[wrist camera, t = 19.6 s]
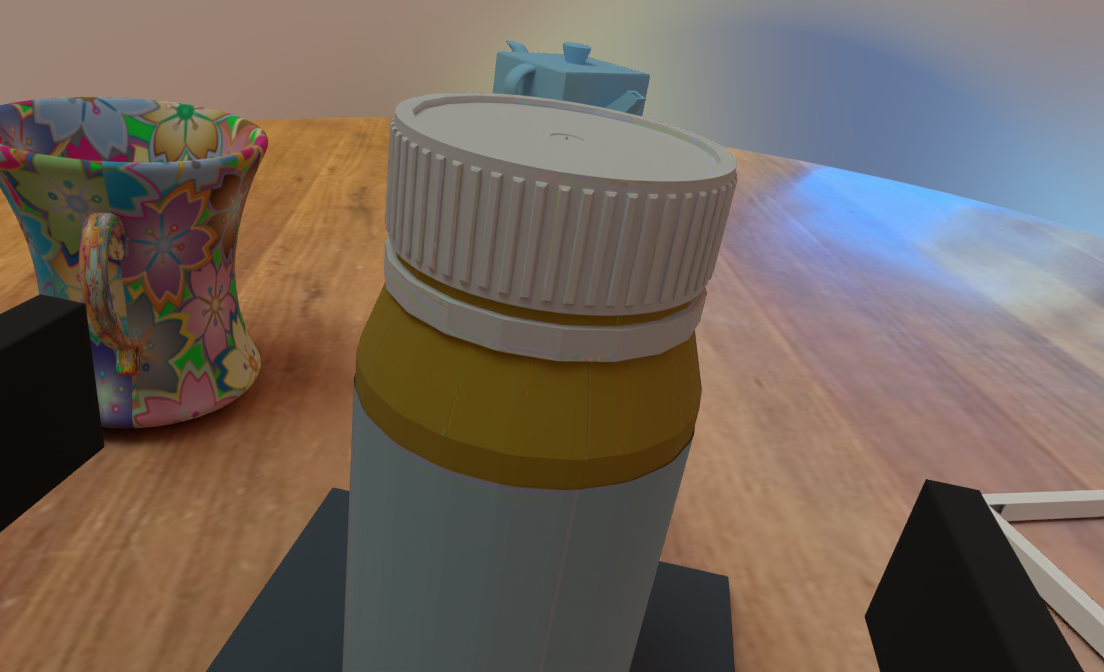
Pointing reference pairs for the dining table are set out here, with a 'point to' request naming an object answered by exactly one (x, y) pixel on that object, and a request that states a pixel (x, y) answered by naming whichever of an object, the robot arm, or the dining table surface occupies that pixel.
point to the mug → (140, 242)
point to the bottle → (526, 383)
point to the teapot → (570, 78)
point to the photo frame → (1048, 580)
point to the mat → (319, 610)
